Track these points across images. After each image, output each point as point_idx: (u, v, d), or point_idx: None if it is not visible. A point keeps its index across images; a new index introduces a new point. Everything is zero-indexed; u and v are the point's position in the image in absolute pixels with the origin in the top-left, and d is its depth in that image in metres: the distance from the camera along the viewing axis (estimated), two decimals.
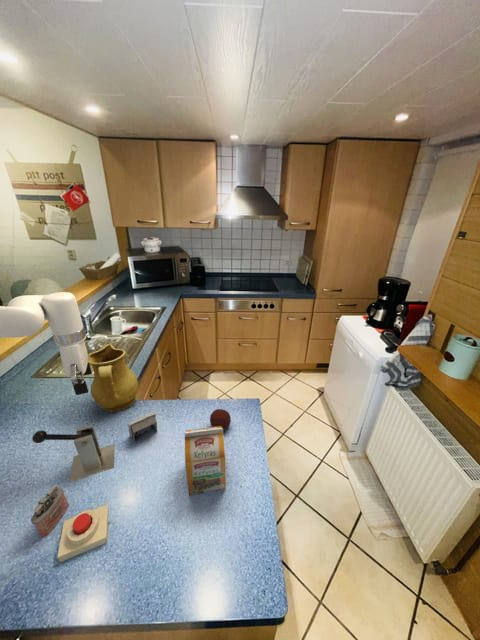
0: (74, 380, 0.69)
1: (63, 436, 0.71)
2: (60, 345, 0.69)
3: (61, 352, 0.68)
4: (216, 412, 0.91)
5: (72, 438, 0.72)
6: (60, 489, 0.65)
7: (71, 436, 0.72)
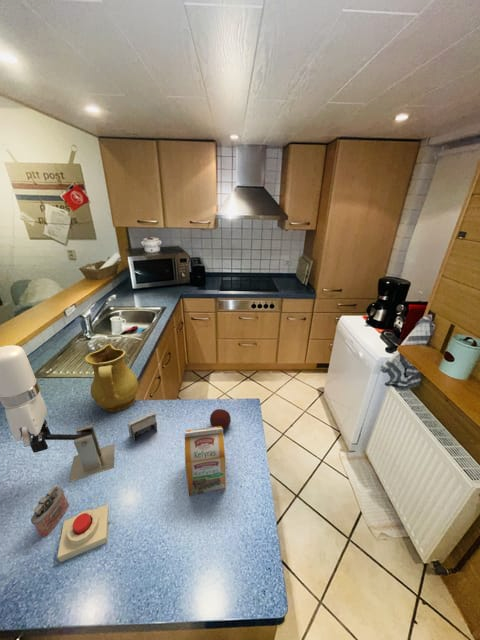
0: None
1: (63, 436, 0.71)
2: (6, 407, 0.60)
3: (7, 415, 0.59)
4: (216, 412, 0.91)
5: (72, 438, 0.72)
6: (60, 489, 0.65)
7: (71, 436, 0.72)
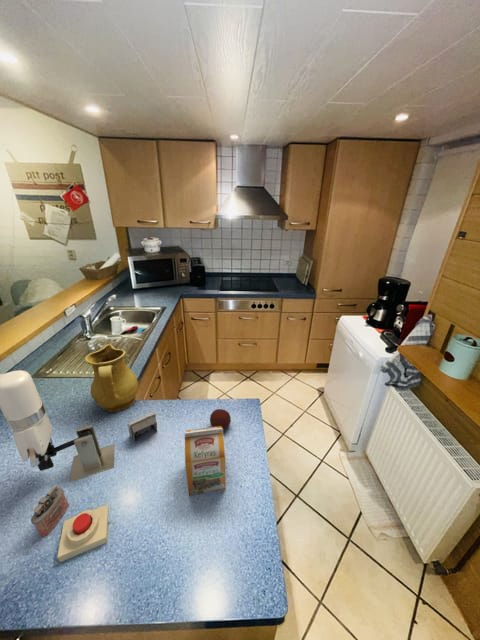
0: None
1: (63, 445, 0.73)
2: (14, 429, 0.62)
3: (15, 438, 0.62)
4: (216, 412, 0.91)
5: (73, 443, 0.73)
6: (60, 489, 0.65)
7: (71, 442, 0.73)
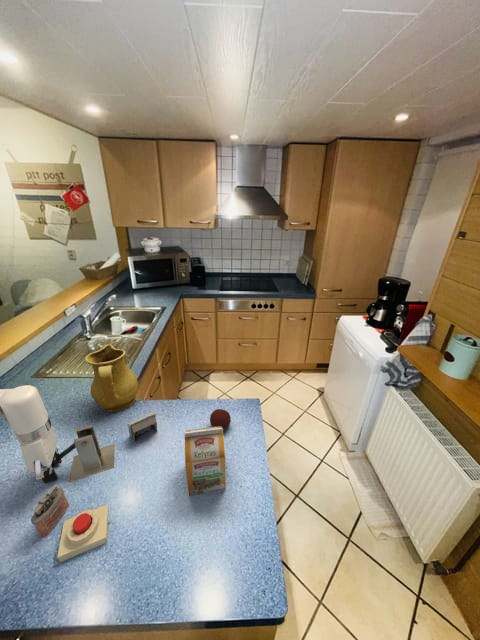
0: (40, 478, 0.67)
1: (67, 449, 0.73)
2: (21, 443, 0.64)
3: (22, 451, 0.64)
4: (216, 412, 0.91)
5: None
6: (60, 489, 0.65)
7: (73, 445, 0.74)
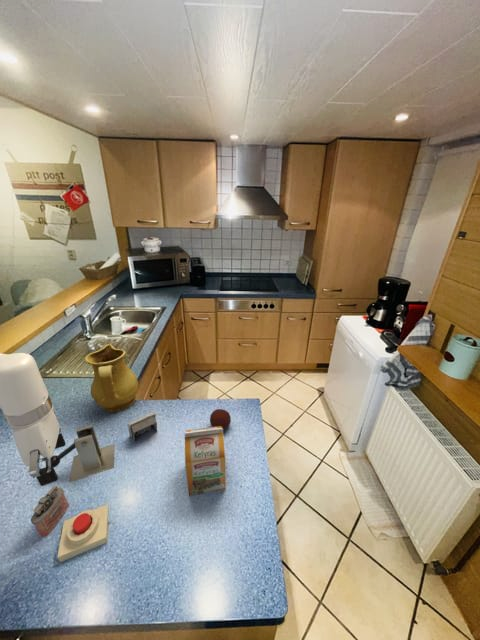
0: (35, 474, 0.50)
1: (67, 449, 0.73)
2: (14, 427, 0.50)
3: (15, 437, 0.49)
4: (216, 412, 0.91)
5: None
6: (60, 489, 0.65)
7: (73, 445, 0.74)
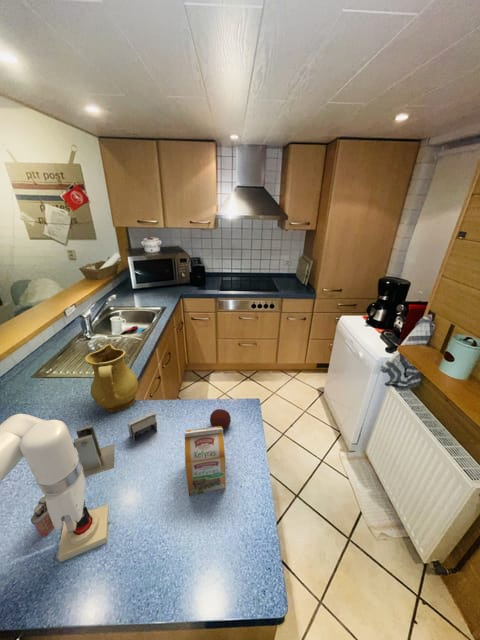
0: None
1: None
2: (47, 494, 0.50)
3: (48, 505, 0.50)
4: (216, 412, 0.91)
5: None
6: None
7: None
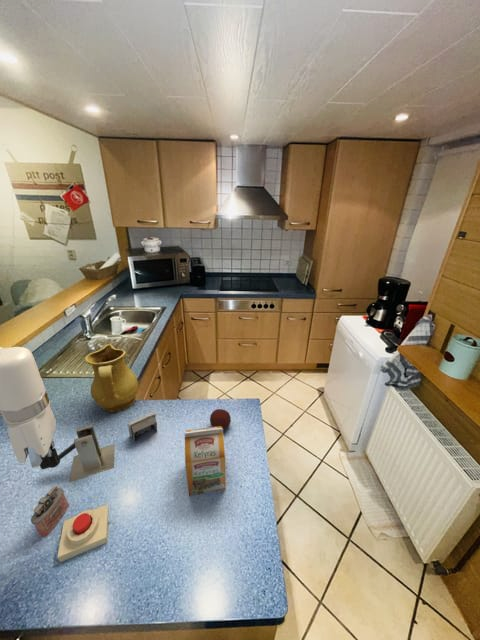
0: None
1: (67, 449, 0.73)
2: (9, 423, 0.48)
3: (10, 433, 0.48)
4: (216, 412, 0.91)
5: None
6: (60, 489, 0.65)
7: (73, 445, 0.74)
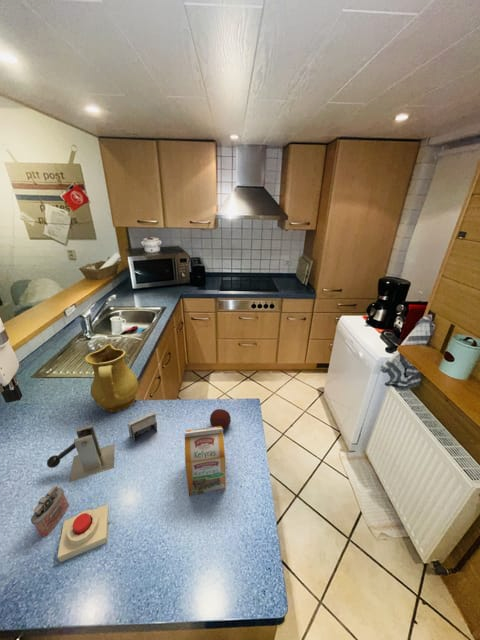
0: None
1: (67, 449, 0.73)
2: None
3: None
4: (216, 412, 0.91)
5: None
6: (60, 489, 0.65)
7: (73, 445, 0.74)
